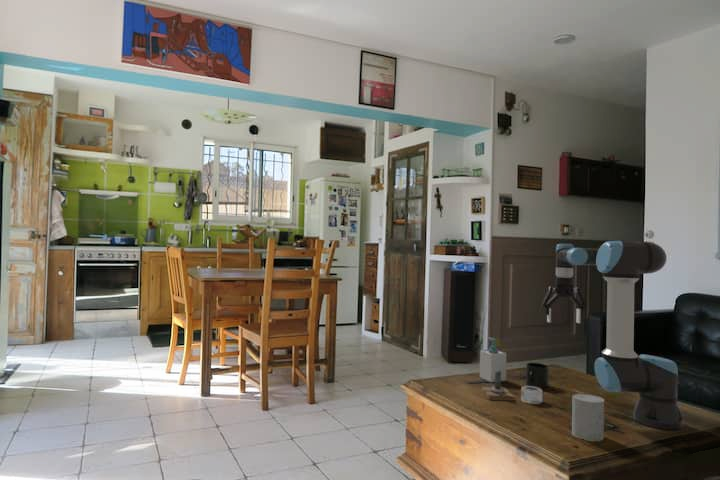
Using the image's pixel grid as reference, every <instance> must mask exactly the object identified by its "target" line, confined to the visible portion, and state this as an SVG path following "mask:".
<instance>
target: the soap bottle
mask: <svg viewBox="0 0 720 480" xmlns="http://www.w3.org/2000/svg"><path fill="white" fill-rule="evenodd" d="M486 338H487V339H488V340H489V341H491V345H490V347H489V348H488V349H481V350H480V356H479V359H480V360H479V367H480V368H479V378H481V379H483V380H484V381H487V382H490V383H495V371H501V382H506V381H507V352H504V351H501V350H499V349H498V348H497V345H495V344H496V341H497V340H498V339H497V338H493V337H489V336H487V337H486Z"/></svg>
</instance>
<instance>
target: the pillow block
mask: <svg viewBox="0 0 720 480" xmlns="http://www.w3.org/2000/svg"><path fill="white" fill-rule="evenodd" d="M501 384H502V381H501V371H495V382H494V385H493V386H491V387H486V386H485V387H481V392H482V393H483V394H484V396H486V398H487V399H488V400H490V401H494V400H495V401H515V396H514V395H513V394H512V393H511V392H510V391H509V390H508V389H507V388H505V387H502V385H501Z"/></svg>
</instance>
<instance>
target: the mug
mask: <svg viewBox="0 0 720 480" xmlns="http://www.w3.org/2000/svg"><path fill="white" fill-rule="evenodd" d="M525 366H526V367H525V369H526V370H525V372H526V373H525V374H526V375H525V384H526V386H534V387H538V388H540V389H544V388H548V387H549V369H550V367H549V365H548V364H545V363H539V362H528V363H526V365H525Z"/></svg>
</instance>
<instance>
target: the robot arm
mask: <svg viewBox="0 0 720 480" xmlns="http://www.w3.org/2000/svg"><path fill="white" fill-rule="evenodd" d="M666 263H667V253H666V251H665V250H664V249H663V247H662V246H660V245H659V244H657V243H654V242H651V241H650V242H649V241H629V240H608V241H606V242H604V243H602V245H600V247H599V248H592V247H591V248H589V247H588V248H587V247H586V248H585V247H574V244H572V243H558V244H556V247H555V276H556V277H555V286H554V287H553V286H548V289H547V292H546V294H545V296H544V298H543V300H542V302H541V303H540V304H541V307H544V314H545V315H546V322H547V323H551V322H552V308H551V306H552V305H553V304H554V303H555V302H556V301H557V300H558V299H559V298H560V297H561V298H562V297H563V298H564V297H565V298H570V300H571V301H572V302H573V303H574V305H575V306H576V307H577V308H575V309H576V313H575V314H576V315H575V318H576V319H575V322H576V323H577V324H581V317H582V316H583V310H585V309H587V308H588V305H587V303H586V301H585V299H584V297H583V296H582V294H581V288H580V287H574V278H573V277H574V266H596V268H597V270H598V272H600V273H601V274H602V278H603V279H604V280H605V281H606V283H607V284H606V286H607V287H606V288H607V289H606V294H607V295H606V341H605V343H606V345H605V346H606V348H604V349H603V350H601V356H600V357H598V358H595V362H594V373H595V377H596V380H597V381H598V384H599V385H600V386H601V388H602V389H603V390H605V391H607V392H613V393H614V392H615V393H638V399H637V402H636V404H635V406H634V409H633V411H632V412H633V414H632V419H633V420H634V421H635V422H637V423H639V424H640V425H645V426H648V427H651V428H655V429H660V428H661V429H662V430H668V429H671V430H670V431H672V429H673V430H674V431H675V429H677V430H681V429H683V428H684V419H683V417H682V416H683V415H682V414H681V410H680V408H679V405H678V377H679V372H678V370H679V369H678V365H677V364H676V363H677V362H675V361H673V360H671V359H669V358H664V357H661V356H657V355H656V356H655V355H651V354H650V355H649V354H644V353H643V354H639V355H638V353H636V351H635V350H634V346H635V345H634V343H635V341H634V339H635V331H634V330H635V328H634V327H635V284H636V283H637V282H638V281H639V280H640V274H641V275H644V274H645V275H646V274H648V275H649V274H654V273H656V272H658V271H660V270H662V269H663V268H664V267H665V265H666ZM553 292H555V293H554V294H553ZM573 292H574V293H575V295H576V297H577V298H576V297H575V295H574V294H573ZM552 294H553V295H552ZM682 427H683V428H682Z"/></svg>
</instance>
